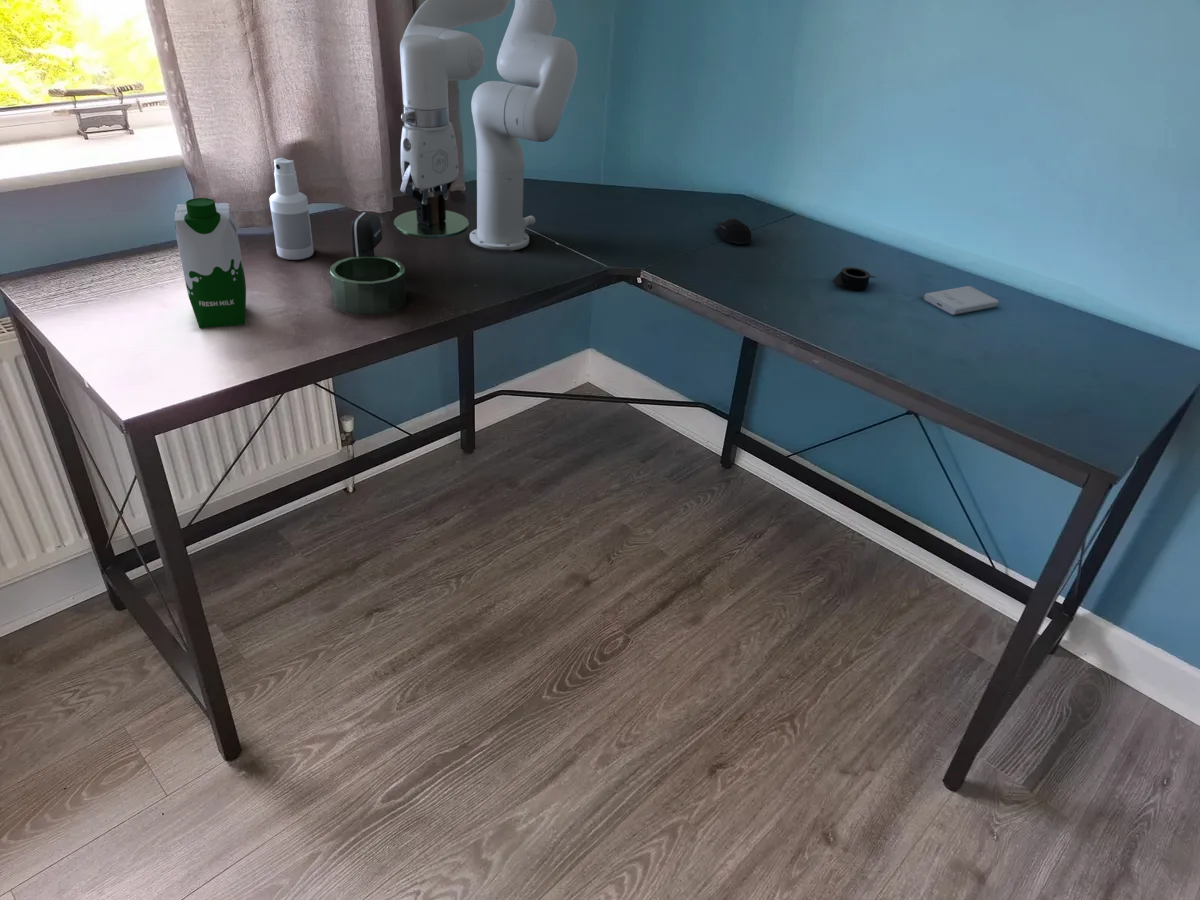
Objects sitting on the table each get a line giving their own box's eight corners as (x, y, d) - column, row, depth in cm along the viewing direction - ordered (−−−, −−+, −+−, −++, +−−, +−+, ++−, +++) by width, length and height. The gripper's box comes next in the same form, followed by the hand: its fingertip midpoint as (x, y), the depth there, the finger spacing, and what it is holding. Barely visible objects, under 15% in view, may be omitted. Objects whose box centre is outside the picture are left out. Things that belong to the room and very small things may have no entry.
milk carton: (193, 331, 134) (167, 208, 123) (194, 308, 141) (170, 189, 129) (251, 327, 136) (231, 206, 125) (250, 304, 143) (231, 187, 132)
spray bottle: (269, 255, 162) (255, 160, 152) (293, 245, 167) (280, 153, 157) (298, 263, 160) (286, 167, 150) (321, 252, 165) (310, 159, 155)
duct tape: (825, 276, 176) (828, 263, 175) (872, 281, 176) (875, 268, 175) (831, 290, 170) (834, 277, 168) (880, 295, 170) (884, 282, 168)
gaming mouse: (732, 224, 200) (735, 207, 198) (754, 246, 188) (758, 229, 186) (707, 224, 199) (710, 207, 196) (728, 246, 187) (731, 229, 185)
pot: (373, 282, 155) (370, 250, 151) (420, 302, 149) (419, 269, 146) (318, 302, 146) (314, 268, 143) (367, 324, 141) (364, 289, 137)
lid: (431, 210, 161) (430, 177, 157) (483, 228, 155) (483, 195, 151) (378, 227, 152) (375, 193, 148) (431, 247, 146) (429, 213, 142)
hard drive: (996, 308, 169) (953, 315, 164) (965, 292, 175) (922, 299, 170) (999, 300, 168) (956, 308, 163) (968, 285, 174) (925, 291, 169)
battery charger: (375, 283, 155) (370, 223, 148) (354, 281, 155) (349, 221, 148) (386, 270, 160) (382, 211, 154) (366, 267, 161) (362, 209, 154)
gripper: (406, 129, 135) (413, 238, 145) (475, 113, 146) (477, 216, 157) (374, 119, 138) (383, 227, 149) (444, 104, 149) (448, 206, 160)
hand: (431, 220), depth 153 cm, fingers closed on lid, 2 cm apart
